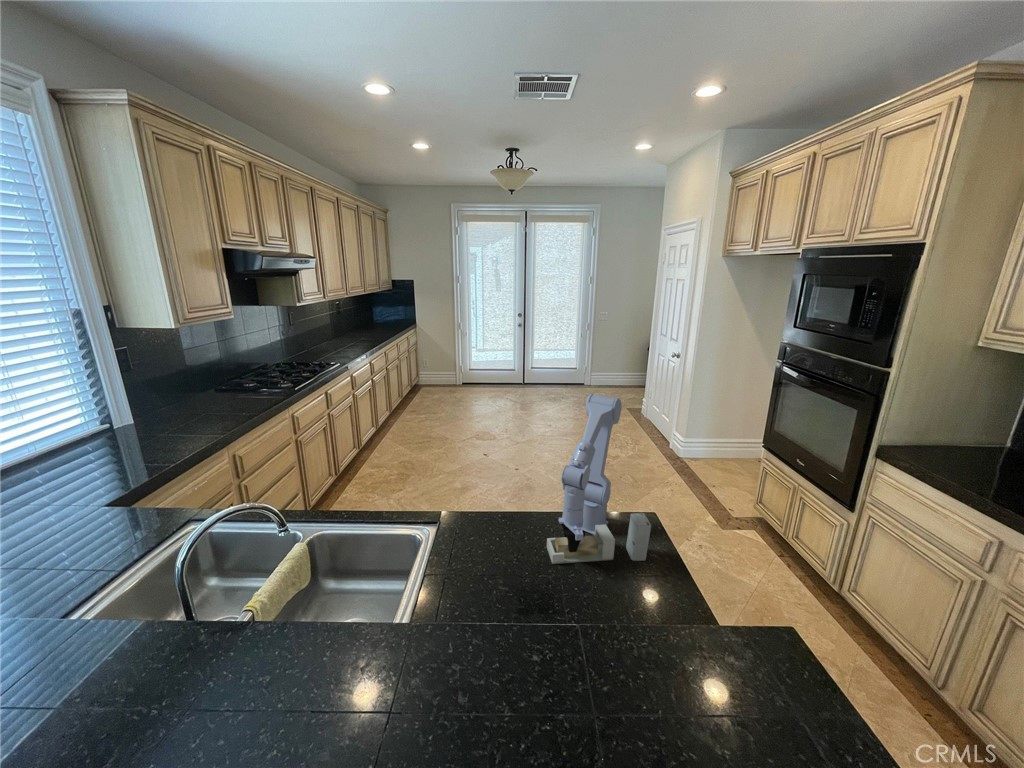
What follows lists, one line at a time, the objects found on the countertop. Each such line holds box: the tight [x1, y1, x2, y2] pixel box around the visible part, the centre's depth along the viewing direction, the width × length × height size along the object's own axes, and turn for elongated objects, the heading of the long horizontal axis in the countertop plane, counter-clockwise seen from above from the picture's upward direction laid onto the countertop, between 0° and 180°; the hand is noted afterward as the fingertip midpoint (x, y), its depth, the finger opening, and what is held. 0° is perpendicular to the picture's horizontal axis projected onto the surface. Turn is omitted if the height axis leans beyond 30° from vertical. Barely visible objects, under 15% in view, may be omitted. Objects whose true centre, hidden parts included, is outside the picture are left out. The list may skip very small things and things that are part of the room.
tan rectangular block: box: [554, 534, 598, 557], centre depth 118 cm, size 12×4×4 cm, turn 98°
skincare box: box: [625, 512, 652, 562], centre depth 117 cm, size 6×4×12 cm
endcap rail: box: [546, 524, 616, 565], centre depth 118 cm, size 18×8×7 cm, turn 98°
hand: (570, 546), depth 118 cm, fingers closed on tan rectangular block, 3 cm apart
